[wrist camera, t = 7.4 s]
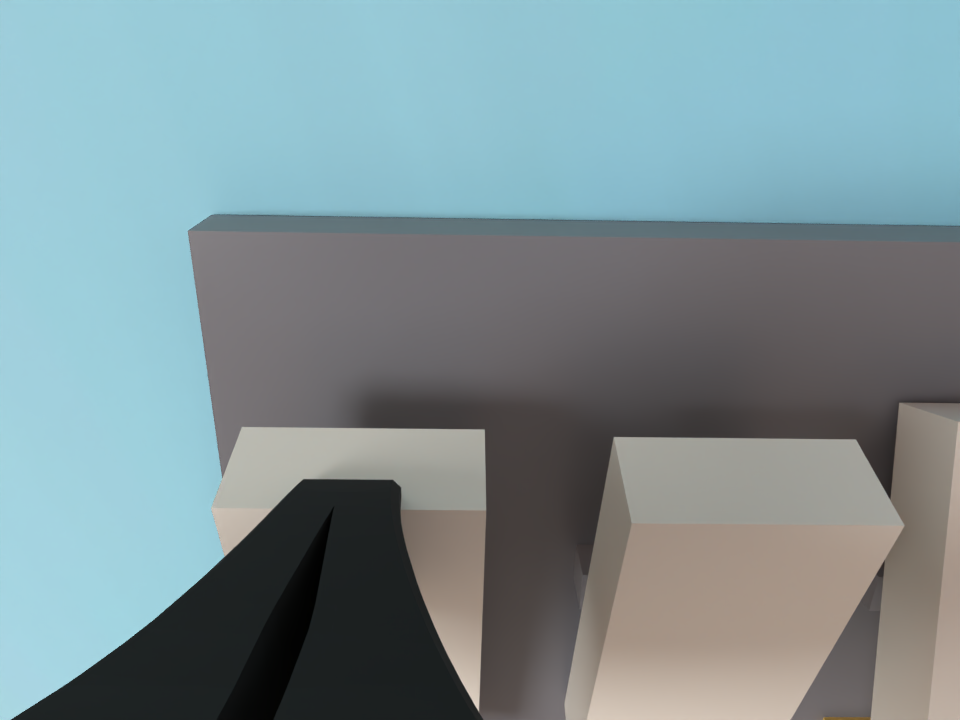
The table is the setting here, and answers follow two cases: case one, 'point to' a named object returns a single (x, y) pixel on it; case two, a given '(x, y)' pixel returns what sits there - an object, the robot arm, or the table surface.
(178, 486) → the table surface
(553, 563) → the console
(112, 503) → the table surface
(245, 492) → the rocker
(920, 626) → the block
